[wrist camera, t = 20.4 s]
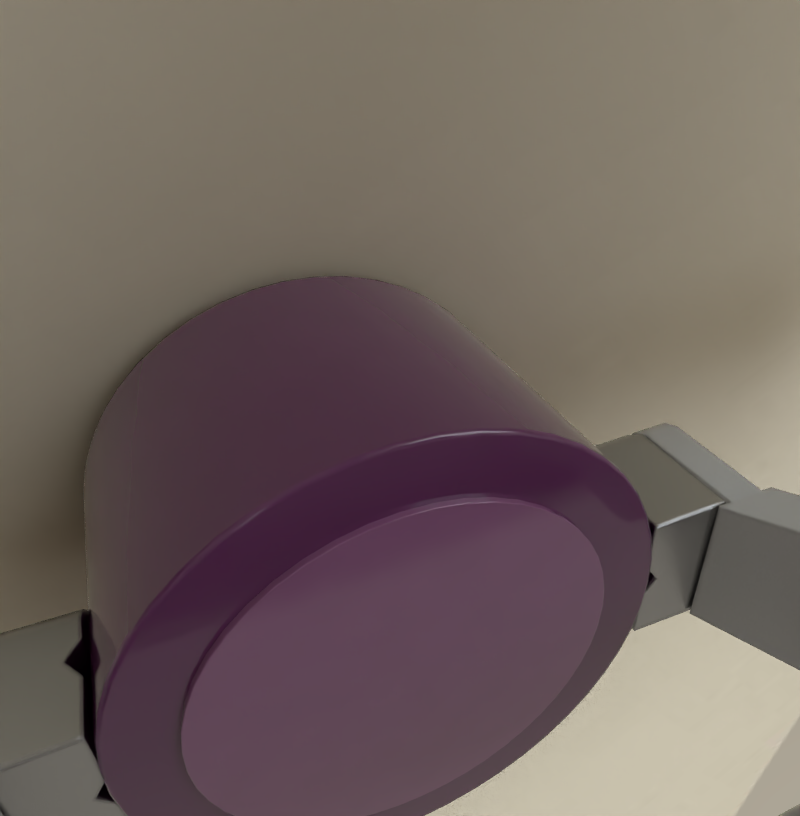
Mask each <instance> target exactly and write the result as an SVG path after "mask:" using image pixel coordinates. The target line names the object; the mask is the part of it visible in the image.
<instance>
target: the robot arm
mask: <svg viewBox="0 0 800 816" xmlns="http://www.w3.org/2000/svg"><path fill="white" fill-rule="evenodd" d="M596 447H597V448H598V449H599V450H600V451H601V452H602V453H603V454H604V455H605V456H606V457H608V458H609V459H610V460H611V461H612V462H613V463H614V464H615V465H616V466H617V467H618V468H619V469H621V470H622V471H623V472H624V474H625V475H626V476H627V478H628V479H629V480H630V482H631V483H632V485H633V486H634V487H635V489H636V490H637V492H638V494H639V496H640V499H641V501H642V503H643V506H644V508H645V510H646V513H647V516H648V521H649V526H650V531H651V536H652V561H651V568H650V575H649V581H648V585H647V589H646V592H645V595H644V599H643V602H642V605H641V608H640V610H639V612H638V615H637V617H636V620H635V622H634V624H633V627H632V629H633V630H634V631H635V630H638V629H640V628H643V627H646V626H648V625H651V624H654V623H656V622H659V621H661V620H664V619H667V618H669V617H672V616H675V615H677V614H680V613H682V612H685V611H688V610H690V609H691V610H690V614H692V615H694V616H696V617H698V618H700V619H702V620H704V621H706V622H707V623H709V624H711V625H713V626H715V627H717V628H719V629H721V630H723V631H725V632H727V633H729V634H731V635H733V636H735V637H736V638H738V639H740V640H742V641H744V642H746V643H748V644H750V645H752V646H754V647H756V648H758V649H760V650H762V651H764V652H765V653H767V654H769V655H771V656H773V657H775V658H777V659H779V660H781V661H783V662H785V663H787V664H789V665H791V666H793V667H795V668H796V669H798V670H800V496H799V495H796V494H793V493H789V492H786V491H782V490H779V489H775V488H772V487H771V488H768V489H765V490H760V489H759V488H758V487H756V486H755V485H754V484H753V483H751V482H750V481H749V480H747V479H746V478H745V477H743V476H742V475H741V474H739V473H738V472H737V471H735V470H734V469H733V468H731V467H730V466H729V465H727V464H726V463H725V462H724V461H722V460H721V459H720V458H718V457H717V456H716V455H714V454H713V453H712V452H710V451H709V450H708V449H706V448H705V447H704V446H702V445H701V444H700V443H698V442H697V441H696V440H695V439H693V438H692V437H691V436H689V435H688V434H687V433H685V432H684V431H683V430H681V429H680V428H679V427H677V426H675V425H672V424H668V423H662V424H659V425H656V426H653V427H650V428H647V429H644V430H641V431H638V432H635V433H633V434H632V435H627V436H624V437H620V438H617V439H614V440H611V441H608V442H605V443H602V444H599V445H596ZM0 816H125V815H124V814H123V812H122V811H121V809H120V808H119V807H118V805H117V804H116V803H115V801H114V800H113V799H112V797H111V796H110V794H109V793H108V791H107V789H106V787H105V784H104V781H103V778H102V776H101V773H100V771H99V768H98V762H97V759H96V753H95V746H94V737H93V713H92V689H91V665H90V641H89V618H88V611H87V610H85V609H82V610H79V611H75V612H72V613H69V614H65V615H62V616H58V617H55V618H52V619H48V620H45V621H41V622H38V623H35V624H31V625H28V626H24V627H21V628H18V629H14V630H11V631H7V632H4V633H1V634H0ZM779 816H800V804H799V805H797V806H795V807H793V808H791V809H790V810H788V811H786V812H784V813H782V814H780V815H779Z"/></svg>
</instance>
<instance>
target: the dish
mask: <svg viewBox="0 0 800 816" xmlns="http://www.w3.org/2000/svg"><path fill="white" fill-rule="evenodd" d="M83 498H84V522H85V546H86V570H87V594H88V618H89V641H90V665H91V689H92V713H93V737H94V746H95V753H96V759H97V762H98V768H99V771H100V773H101V776H102V778H103V781H104V784H105V787H106V789H107V791H108V793H109V794H110V796H111V797H112V799H113V800H114V801H115V803H116V804H117V805H118V807H119V808H120V809H121V811H122V812H123V814H124V815H125V816H425V815H427V814H429V813H431V812H433V811H435V810H437V809H439V808H441V807H443V806H445V805H447V804H449V803H450V802H452V801H454V800H456V799H457V798H459V797H461V796H463V795H464V794H466V793H468V792H470V791H471V790H473V789H475V788H476V787H478V786H480V785H481V784H483V783H484V782H486V781H487V780H489V779H490V778H492V777H493V776H495V775H496V774H498V773H500V772H501V771H502V770H504V769H505V768H506V767H508V766H509V765H510V764H512V763H513V762H515V761H516V760H517V759H519V758H520V757H521V756H523V755H524V754H525V753H526V752H528V751H529V750H530V749H531V748H532V747H534V746H535V745H536V744H537V743H538V742H540V741H541V740H542V739H543V738H544V737H546V736H547V735H548V734H549V733H550V732H551V731H552V730H553V729H554V728H555V727H556V726H557V725H558V724H559V723H561V722H562V721H563V720H564V719H565V718H566V717H567V716H568V715H569V714H570V713H571V712H572V711H573V709H574V708H575V707H576V706H577V705H578V704H579V703H580V702H581V701H582V700H583V699H584V697H585V696H586V695H587V694H588V693H589V692H590V690H591V689H592V688H593V687H594V685H595V684H596V683H597V682H598V680H599V679H600V678H601V677H602V675H603V674H604V673H605V671H606V670H607V668H608V667H609V665H610V664H611V662H612V661H613V659H614V658H615V656H616V655H617V654H618V652H619V651H620V649H621V647H622V645H623V643H624V641H625V640H626V638H627V636H628V634H629V632H630V631H631V629H632V627H633V624H634V622H635V620H636V617H637V615H638V612H639V610H640V608H641V605H642V602H643V599H644V595H645V592H646V589H647V585H648V581H649V575H650V568H651V561H652V536H651V531H650V526H649V521H648V516H647V513H646V510H645V508H644V506H643V503H642V501H641V499H640V496H639V494H638V492H637V490H636V489H635V487H634V486H633V485H632V483H631V482H630V480H629V479H628V478H627V476H626V475H625V474H624V472H623V471H622V470H621V469H619V468H618V467H617V466H616V465H615V464H614V463H613V462H612V461H611V460H610V459H609V458H608V457H606V456H605V455H604V454H603V453H602V452H601V451H600V450H599V449H598V448H597V447H596V446H595V445H593V444H592V443H591V442H590V441H589V440H588V439H587V438H586V437H585V436H584V435H583V434H581V433H580V432H579V431H578V430H577V429H576V428H575V427H574V426H573V425H572V424H571V423H570V422H568V421H567V420H566V419H565V418H564V417H563V416H562V415H561V414H560V413H559V412H558V411H557V410H555V409H554V408H553V407H552V406H551V405H550V404H549V403H548V402H547V401H546V400H545V399H544V398H542V397H541V396H540V395H539V394H538V393H537V392H536V391H535V390H534V389H533V388H532V387H530V386H529V385H528V384H527V383H526V382H525V381H524V380H523V379H522V378H521V377H520V376H519V375H517V374H516V373H515V372H514V371H513V370H512V369H511V368H510V367H509V366H508V365H507V364H506V363H504V362H503V361H502V360H501V359H500V358H499V357H498V356H497V355H496V354H495V353H494V352H492V351H491V350H490V349H489V348H488V347H487V346H486V345H485V344H484V343H483V342H482V341H481V340H479V339H478V338H477V337H476V336H475V335H474V334H473V333H472V332H471V331H470V330H469V329H468V328H466V327H465V326H464V325H463V324H462V323H461V322H460V321H459V320H458V319H456V318H455V317H454V316H453V315H452V314H451V313H450V312H449V311H447V310H446V309H444V308H443V307H441V306H440V305H438V304H436V303H435V302H433V301H432V300H430V299H429V298H427V297H425V296H422V295H420V294H418V293H416V292H413V291H411V290H409V289H406V288H404V287H401V286H397V285H394V284H390V283H386V282H382V281H379V280H373V279H365V278H357V277H348V276H336V277H311V278H304V279H297V280H290V281H283V282H279V283H276V284H272V285H268V286H265V287H261V288H257V289H253V290H250V291H248V292H245V293H243V294H241V295H238V296H236V297H233V298H231V299H228V300H226V301H223V302H221V303H219V304H217V305H215V306H213V307H212V308H210V309H208V310H206V311H204V312H203V313H201V314H199V315H197V316H195V317H194V318H192V319H190V320H189V321H187V322H186V323H185V324H183V325H182V326H181V327H179V328H178V329H176V330H175V331H174V332H172V333H171V334H170V335H168V336H167V337H166V338H164V339H163V340H162V341H161V342H160V343H159V344H158V345H156V346H155V347H154V348H153V349H152V350H151V351H150V352H149V353H148V354H147V355H146V356H145V357H144V358H143V359H142V360H141V361H140V362H138V364H137V365H136V366H135V367H134V369H133V370H132V371H131V372H130V374H129V375H128V376H127V377H126V378H125V380H124V381H123V382H122V383H121V385H120V386H119V387H118V389H117V390H116V392H115V394H114V395H113V397H112V399H111V400H110V402H109V404H108V405H107V407H106V409H105V410H104V412H103V414H102V416H101V418H100V421H99V423H98V426H97V428H96V430H95V433H94V435H93V438H92V440H91V444H90V448H89V452H88V457H87V461H86V465H85V474H84V491H83Z"/></svg>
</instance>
